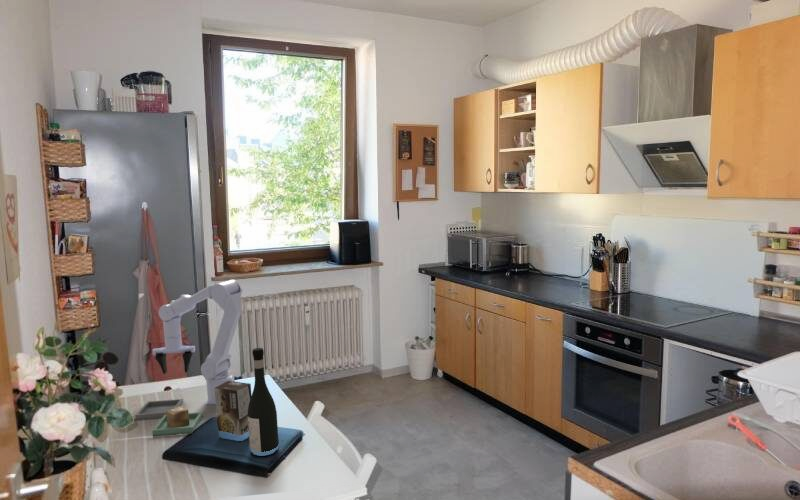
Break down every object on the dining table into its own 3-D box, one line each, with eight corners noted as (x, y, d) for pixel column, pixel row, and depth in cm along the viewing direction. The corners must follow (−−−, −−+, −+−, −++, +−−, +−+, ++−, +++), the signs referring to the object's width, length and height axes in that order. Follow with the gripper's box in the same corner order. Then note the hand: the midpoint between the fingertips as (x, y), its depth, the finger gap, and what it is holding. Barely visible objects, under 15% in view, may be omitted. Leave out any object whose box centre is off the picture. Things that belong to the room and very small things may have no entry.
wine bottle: (253, 461, 152) (246, 354, 148) (247, 449, 159) (240, 348, 155) (282, 453, 155) (275, 349, 152) (275, 442, 162) (268, 343, 159)
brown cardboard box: (182, 420, 180) (181, 405, 180) (189, 424, 177) (188, 409, 176) (167, 425, 176) (166, 410, 176) (174, 429, 173) (172, 414, 172)
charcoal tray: (183, 404, 196) (182, 398, 196) (173, 417, 184) (172, 412, 184) (147, 406, 195) (147, 401, 194) (135, 420, 183) (134, 415, 182)
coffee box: (255, 434, 169) (251, 383, 167) (241, 443, 163) (237, 390, 161) (232, 429, 173) (228, 380, 171) (217, 438, 167) (213, 387, 165)
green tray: (202, 417, 183) (202, 411, 183) (193, 433, 171) (192, 427, 171) (165, 420, 182) (164, 414, 182) (152, 436, 170) (152, 430, 170)
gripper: (196, 332, 206) (199, 367, 207) (155, 334, 204) (158, 370, 205) (191, 336, 199) (194, 373, 200) (149, 339, 197) (152, 376, 199)
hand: (175, 372), depth 202 cm, fingers open, 7 cm apart
